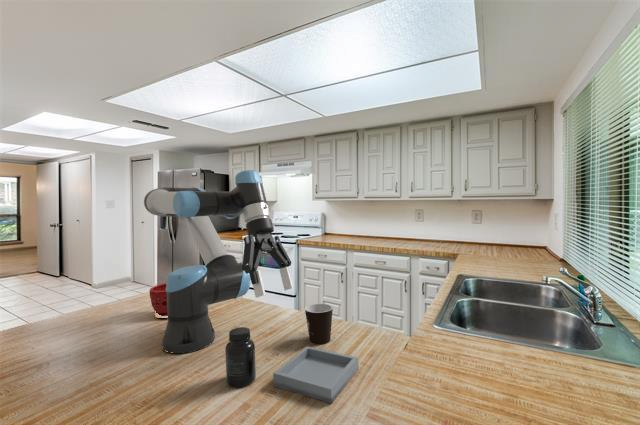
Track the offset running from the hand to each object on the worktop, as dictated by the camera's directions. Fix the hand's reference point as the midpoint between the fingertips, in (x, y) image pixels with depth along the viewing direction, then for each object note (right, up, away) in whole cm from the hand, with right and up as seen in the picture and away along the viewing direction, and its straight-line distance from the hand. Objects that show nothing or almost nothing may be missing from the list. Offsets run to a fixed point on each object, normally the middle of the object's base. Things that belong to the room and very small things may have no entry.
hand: (275, 292), depth 85 cm
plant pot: (-48, -19, +37) cm, 64 cm away
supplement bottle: (-7, -18, -12) cm, 23 cm away
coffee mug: (+13, -17, +11) cm, 24 cm away
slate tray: (+12, -17, -11) cm, 24 cm away
